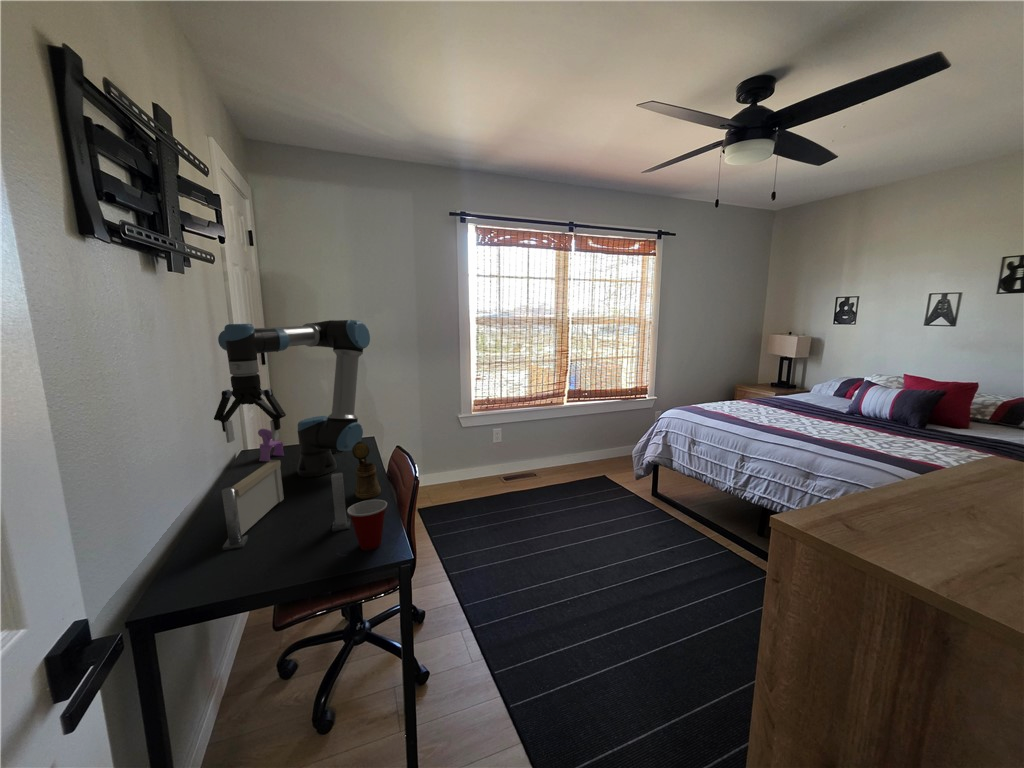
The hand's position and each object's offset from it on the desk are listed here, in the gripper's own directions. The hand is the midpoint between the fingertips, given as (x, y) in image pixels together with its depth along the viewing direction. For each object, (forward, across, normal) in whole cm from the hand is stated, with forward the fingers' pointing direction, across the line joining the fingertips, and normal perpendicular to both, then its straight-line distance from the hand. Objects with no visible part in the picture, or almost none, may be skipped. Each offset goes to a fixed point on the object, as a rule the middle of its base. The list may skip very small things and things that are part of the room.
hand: (253, 440), depth 127 cm
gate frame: (+27, +14, -11) cm, 32 cm away
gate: (+25, 0, -1) cm, 25 cm away
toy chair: (+27, -26, +60) cm, 70 cm away
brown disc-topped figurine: (+27, +28, +17) cm, 43 cm away
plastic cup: (+27, +39, -19) cm, 51 cm away
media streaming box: (+27, -4, +69) cm, 74 cm away
